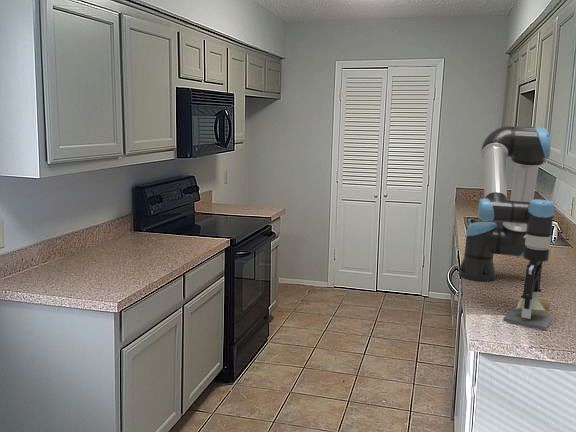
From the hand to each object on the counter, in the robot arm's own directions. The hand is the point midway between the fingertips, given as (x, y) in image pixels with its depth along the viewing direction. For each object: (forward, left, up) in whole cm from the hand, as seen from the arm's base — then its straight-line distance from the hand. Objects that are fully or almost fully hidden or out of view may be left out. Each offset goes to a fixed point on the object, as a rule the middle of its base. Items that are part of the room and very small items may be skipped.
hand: (528, 313), depth 190 cm
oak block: (-11, +2, -2) cm, 11 cm away
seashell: (0, +1, 0) cm, 1 cm away
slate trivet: (0, 0, -2) cm, 2 cm away
